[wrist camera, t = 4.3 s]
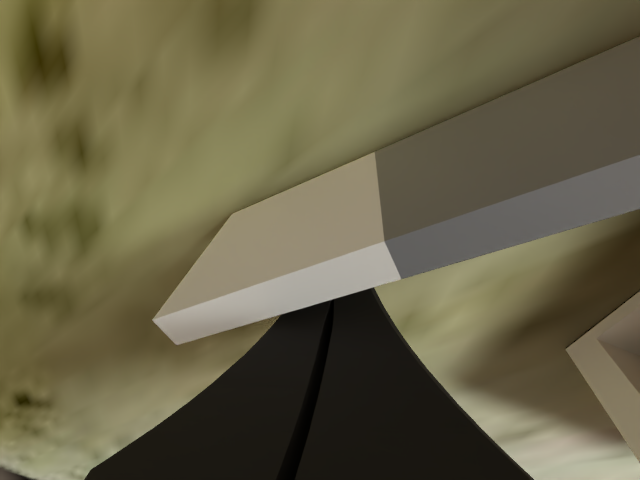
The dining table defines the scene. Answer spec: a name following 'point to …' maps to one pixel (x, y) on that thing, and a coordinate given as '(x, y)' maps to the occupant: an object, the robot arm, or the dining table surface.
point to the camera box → (615, 367)
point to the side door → (428, 200)
